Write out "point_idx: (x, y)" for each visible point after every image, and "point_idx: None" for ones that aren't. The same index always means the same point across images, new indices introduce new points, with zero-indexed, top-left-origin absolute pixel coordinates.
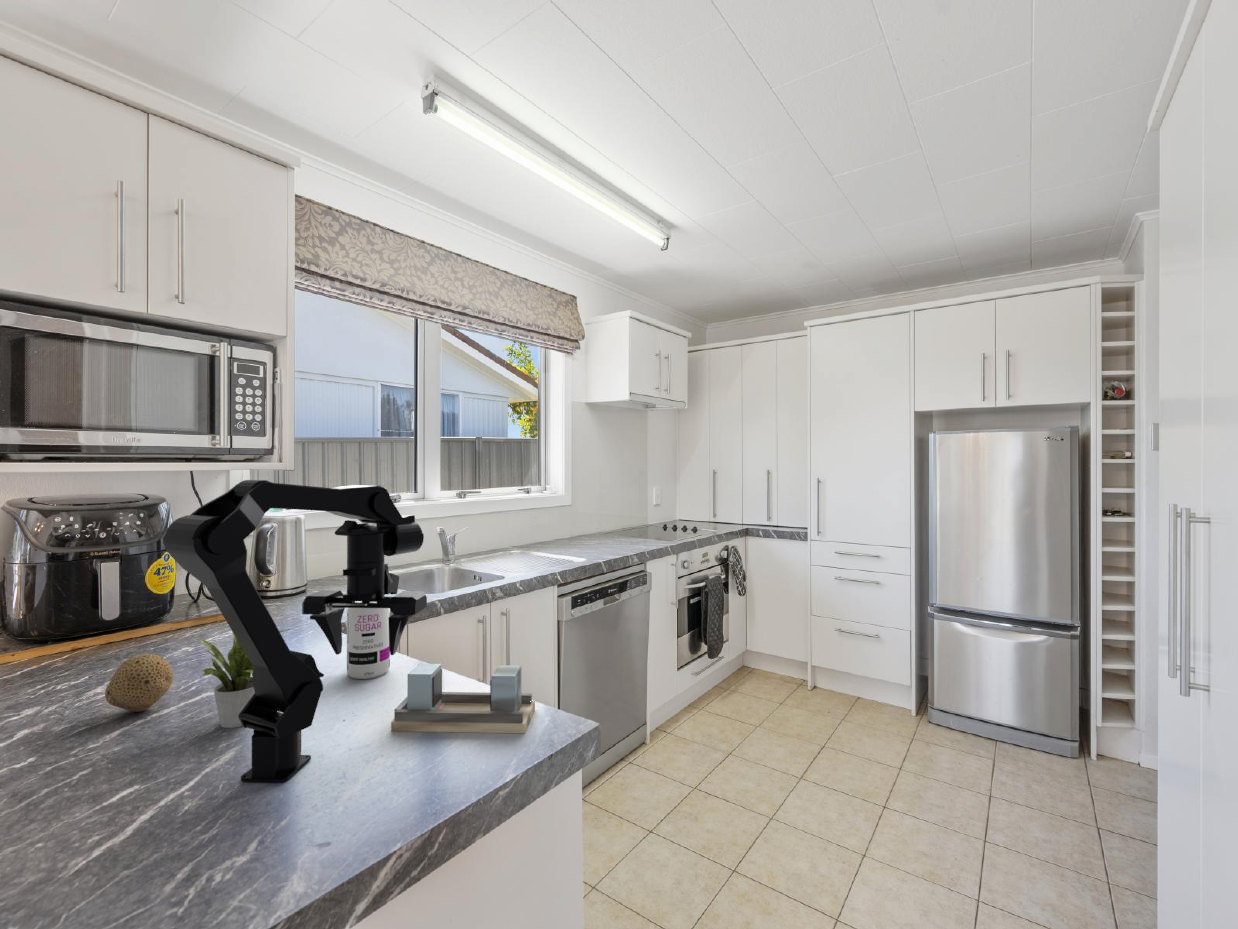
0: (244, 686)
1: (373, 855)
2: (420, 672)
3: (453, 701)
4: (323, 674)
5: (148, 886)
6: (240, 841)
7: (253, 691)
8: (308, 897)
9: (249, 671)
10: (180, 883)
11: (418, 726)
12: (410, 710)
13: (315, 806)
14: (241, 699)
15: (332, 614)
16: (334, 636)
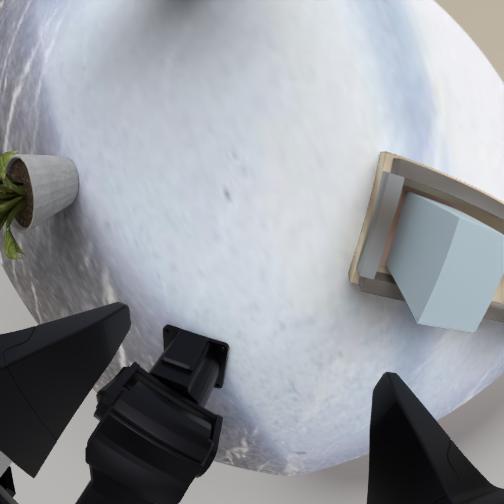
0: (23, 199)
1: (339, 461)
2: (454, 315)
3: (477, 207)
4: (201, 468)
5: None
6: (231, 437)
7: (40, 209)
8: (302, 473)
9: (10, 256)
10: None
11: None
12: (396, 289)
13: (277, 423)
14: (41, 220)
15: (6, 451)
16: (79, 393)
